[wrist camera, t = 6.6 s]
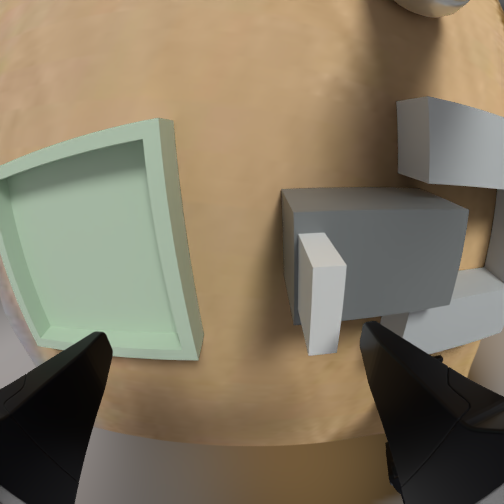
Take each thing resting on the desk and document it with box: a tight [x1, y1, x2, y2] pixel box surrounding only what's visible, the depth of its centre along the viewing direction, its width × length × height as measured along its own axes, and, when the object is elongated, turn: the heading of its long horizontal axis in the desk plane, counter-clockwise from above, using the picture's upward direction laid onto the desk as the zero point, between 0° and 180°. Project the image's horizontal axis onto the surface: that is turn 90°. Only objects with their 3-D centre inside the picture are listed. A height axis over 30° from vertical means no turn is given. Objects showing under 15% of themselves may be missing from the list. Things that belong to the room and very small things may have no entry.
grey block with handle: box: [281, 187, 469, 356], centre depth 15 cm, size 6×10×10 cm, turn 94°
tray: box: [0, 118, 204, 360], centre depth 18 cm, size 16×16×3 cm
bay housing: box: [380, 96, 504, 354], centre depth 17 cm, size 18×12×4 cm
